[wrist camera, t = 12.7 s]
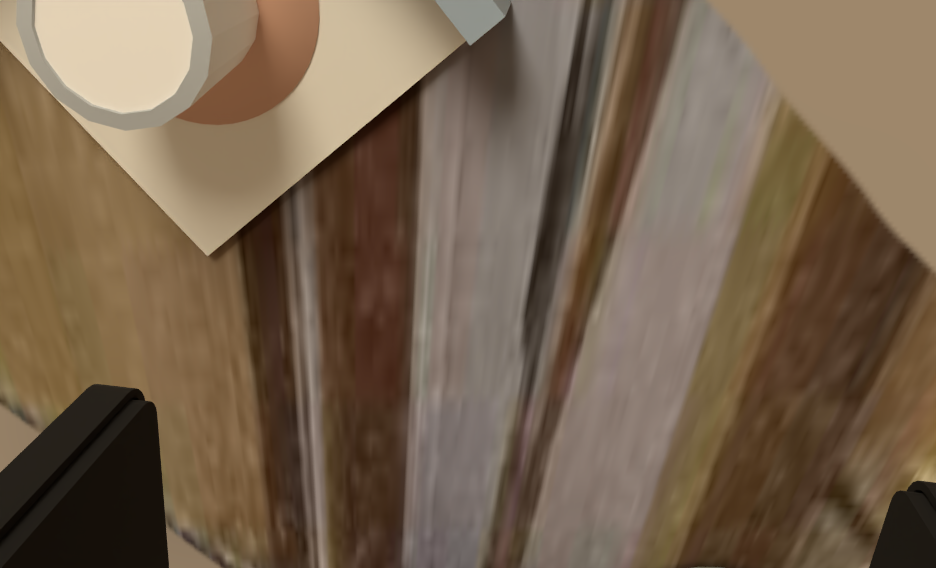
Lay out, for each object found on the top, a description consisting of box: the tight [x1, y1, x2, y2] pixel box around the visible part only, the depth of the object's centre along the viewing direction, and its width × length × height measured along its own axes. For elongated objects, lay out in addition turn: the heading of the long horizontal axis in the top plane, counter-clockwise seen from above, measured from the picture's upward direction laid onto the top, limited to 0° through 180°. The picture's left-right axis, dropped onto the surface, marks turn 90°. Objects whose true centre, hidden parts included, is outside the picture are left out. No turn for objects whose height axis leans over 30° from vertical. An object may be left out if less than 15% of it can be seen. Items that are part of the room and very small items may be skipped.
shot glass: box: [16, 0, 259, 131], centre depth 32 cm, size 7×7×7 cm
